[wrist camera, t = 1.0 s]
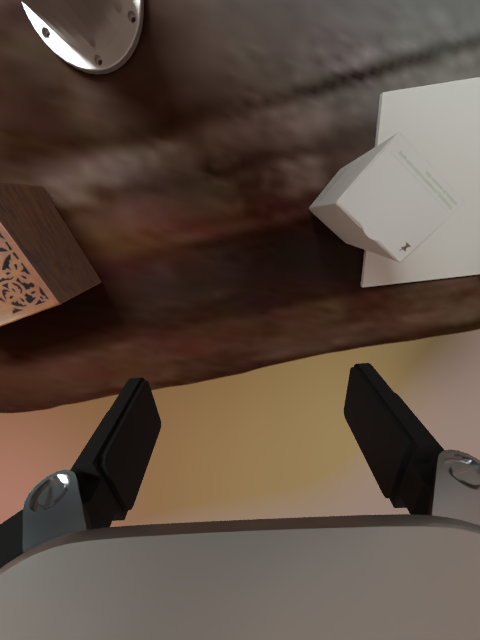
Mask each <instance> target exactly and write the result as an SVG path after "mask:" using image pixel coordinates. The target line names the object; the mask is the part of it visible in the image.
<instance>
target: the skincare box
mask: <svg viewBox="0 0 480 640" xmlns="http://www.w3.org/2000/svg"><path fill="white" fill-rule="evenodd" d="M464 203H465V202H464V200H463V199H462V198H461V197H460V196H459V195H458V194H457V193H456V192H455V191H454V190H453V189H452V188H451V187H450V185H449V184H448V183H447V182H446V181H445V180H444V179H443V178H442V177H441V175H440V174H439V173H438V172H437V171H436V170H435V169H434V168H433V167H432V166H431V165H430V163H429V162H428V161H427V160H426V159H425V158H424V157H423V156H422V155H421V154H420V152H419V151H418V150H417V149H416V148H415V147H414V146H413V145H412V144H411V143H410V142H409V141H408V140H407V139H406V138H405V137H404V135H403V134H402V133H401V132H398V133H397V134H395V135H393V136H392V137H390V138H389V139H387V140H386V141H384V142H383V143H381V144H379V145H378V146H376V147H375V148H373V149H371V150H370V151H368V152H367V153H365V154H364V155H362V156H360V157H359V158H357V159H356V160H354V161H352V162H351V163H349V164H348V165H346V166H345V167H343V168H341V169H340V170H339V171H338V172H337V174H336V175H335V176H334V177H333V178H332V180H331V181H330V182H329V183H328V185H327V186H326V187H325V188H324V190H323V191H322V192H321V193H320V194H319V196H318V197H317V198H316V199H315V201H314V202H313V203H312V204H311V206H310V207H309V210H310V211H311V212H312V213H313V214H314V215H315V216H316V217H317V218H318V219H320V220H321V221H322V222H323V223H324V224H325V225H326V226H327V227H328V228H329V229H330V230H332V231H333V232H334V233H335V234H336V235H337V236H338V237H339V238H340V239H342V240H343V241H344V242H345V243H346V244H350V245H353V246H356V247H359V248H361V249H364V250H367V251H370V252H373V253H375V254H378V255H381V256H384V257H387V258H389V259H392V260H395V261H397V262H400V263H401V262H402V261H403V260H404V259H405V258H406V257H407V256H409V255H410V254H411V253H412V252H413V251H414V250H415V249H416V248H417V247H418V246H419V245H420V244H421V243H422V242H423V241H424V240H425V239H427V238H428V237H429V236H430V235H431V234H432V233H433V232H434V231H435V230H436V229H437V228H438V227H439V226H440V225H441V224H442V223H444V222H445V221H446V220H447V219H448V218H449V217H450V216H451V215H452V214H453V213H454V212H456V211H457V210H458V209H459V208H460V207H461V206H462V205H463V204H464Z"/></svg>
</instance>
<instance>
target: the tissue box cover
mask: <svg viewBox="0 0 480 640" xmlns="http://www.w3.org/2000/svg"><path fill="white" fill-rule="evenodd" d="M100 283H101V280H100V279H99V277H98V275H97V274H96V272H95V270H94V269H93V267H92V266H91V264H90V262H89V261H88V259H87V258H86V256H85V254H84V253H83V251H82V250H81V248H80V246H79V245H78V243H77V242H76V240H75V238H74V237H73V235H72V234H71V232H70V230H69V229H68V227H67V225H66V224H65V222H64V221H63V219H62V217H61V216H60V214H59V213H58V211H57V209H56V208H55V206H54V205H53V203H52V201H51V200H50V198H49V197H48V195H47V193H46V192H45V190H44V188H43V187H41V186H32V185H23V184H13V183H4V182H0V327H1V326H3V325H6V324H9V323H11V322H14V321H17V320H19V319H22V318H25V317H27V316H30V315H33V314H36V313H38V312H41V311H44V310H46V309H49V308H52V307H54V306H57V305H60V304H62V303H64V302H66V301H68V300H69V299H71V298H73V297H75V296H77V295H79V294H81V293H83V292H84V291H86V290H88V289H90V288H92V287H94V286H96V285H98V284H100Z"/></svg>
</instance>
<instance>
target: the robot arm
mask: <svg viewBox="0 0 480 640" xmlns="http://www.w3.org/2000/svg"><path fill="white" fill-rule="evenodd" d="M21 2H22V5H23V7H24V9H25V12H26V14H27V16H28V18H29V20H30V21H31V23H32V25H33V27H34V29H35V30H36V32H37V33H38V34H39V36H40V37H41V38H42V40H43V41H44V42H45V44H46V45H47V46H48V47H49V48H50V49H51V50H52V51H53V52H54V53H55V54H56V55H58V56H59V57H60V58H61V59H62V60H64V61H65V62H66V63H68V64H69V65H71V66H72V67H74V68H76V69H78V70H80V71H83V72H85V73H90V74H96V75H99V74H108V73H110V72H113V71H115V70H117V69H119V68H120V67H121V66H123V65H124V64H125V63H126V62H127V61H128V59H129V58H130V57H131V56H132V54H133V52H134V50H135V48H136V46H137V44H138V42H139V38H140V35H141V32H142V25H143V18H144V0H21ZM134 20H135V22H134V23H133V21H134ZM101 62H102V64H101ZM344 415H345V418H346V420H347V423H348V425H349V426H350V428H351V431H352V433H353V434H354V437H355V439H356V441H357V443H358V445H359V447H360V449H361V451H362V453H363V455H364V457H365V459H366V461H367V463H368V465H369V467H370V469H371V471H372V473H373V475H374V477H375V479H376V481H377V483H378V485H379V487H380V489H381V491H382V493H383V495H384V496H385V497H386V498H389V499H390V501H391V503H392V504H393V506H394V508H407V509H408V511H409V513H410V514H411V515H408V514H405V515H404V514H402V515H356V516H330V517H303V518H281V519H280V518H279V519H256V520H234V521H211V522H191V523H171V524H150V525H137V526H122V527H110V525H111V522H112V521H114V520H124V519H125V517H126V514H127V512H128V510H131V509H132V507H133V505H134V502H135V500H136V496H137V494H138V491H139V488H140V485H141V483H142V480H143V477H144V474H145V471H146V468H147V466H148V463H149V460H150V457H151V454H152V451H153V448H154V446H155V443H156V440H157V437H158V434H159V432H160V428H161V420H160V417H159V414H158V411H157V407H156V405H155V401H154V398H153V395H152V392H151V389H150V386H149V383H148V381H145V380H144V378H131V379H129V380H128V381H127V383H126V385H125V386H124V388H123V389H122V391H121V392H120V394H119V396H118V397H117V399H116V400H115V402H114V404H113V405H112V407H111V408H110V410H109V411H108V412H107V413H106V415H105V416H104V418H103V419H102V421H101V423H100V424H99V426H98V427H97V429H96V431H95V432H94V434H93V435H92V437H91V438H90V440H89V442H88V443H87V445H86V446H85V448H84V449H83V451H82V452H81V454H80V456H79V457H78V459H77V460H76V462H75V464H74V465H73V467H72V468H71V470H61V471H57V472H55V473H53V474H51V475H49V476H47V477H46V478H45V479H43V480H42V481H41V482H39V483H38V484H37V485H36V486H35V487H34V488H33V490H32V491H31V492H30V493H29V495H28V496H27V498H26V500H25V502H24V507H23V510H21V511H20V512H18V513H17V514H15V515H14V516H12V517H11V518H9V519H8V520H6V521H5V522H3V523H2V524H0V640H480V460H478V459H477V458H475V457H473V456H471V455H469V454H467V453H464V452H460V451H456V450H444V449H443V448H442V447H441V446H440V445H439V443H438V442H437V441H436V440H435V439H434V437H433V436H432V435H431V434H430V433H429V431H428V430H427V429H426V428H425V427H424V425H423V424H422V423H421V422H420V421H419V420H418V418H417V417H416V416H415V415H414V414H413V412H412V411H411V410H410V409H409V407H408V406H407V405H406V404H405V403H404V401H403V400H402V399H401V398H400V397H399V396H398V395H397V394H396V393H394V392H393V391H392V390H391V388H390V387H389V386H388V385H387V383H386V382H385V381H384V380H383V378H382V377H381V376H380V375H379V374H378V372H377V371H376V370H375V369H374V368H373V366H372V365H371V364H369V363H362V364H355V365H354V367H352V368H351V369H350V375H349V381H348V387H347V394H346V400H345V406H344Z"/></svg>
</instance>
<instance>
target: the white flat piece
mask: <svg viewBox="0 0 480 640" xmlns="http://www.w3.org/2000/svg"><path fill="white" fill-rule="evenodd" d="M398 132H401V133H402V134H403V135H404V137H405V138H406V139H407V140H408V141H409V142H410V143H411V144H412V145H413V146H414V147H415V148H416V149H417V150H418V151H419V152H420V154H421V155H422V156H423V157H424V158H425V159H426V160H427V161H428V162H429V163H430V165H431V166H432V167H433V168H434V169H435V170H436V171H437V172H438V173H439V174H440V175H441V177H442V178H443V179H444V180H445V181H446V182H447V183H448V184H449V185H450V187H451V188H452V189H453V190H454V191H455V192H456V193H457V194H458V195H459V196H460V197H461V198H462V199H463V200H464V202H465V203H464V204H463V205H462V206H461V207H460V208H459V209H458V210H457V211H456V212H454V213H453V214H452V215H451V216H450V217H449V218H448V219H447V220H446V221H445V222H444V223H442V224H441V225H440V226H439V227H438V228H437V229H436V230H435V231H434V232H433V233H432V234H431V235H430V236H429V237H428V238H427V239H425V240H424V241H423V242H422V243H421V244H420V245H419V246H418V247H417V248H416V249H415V250H414V251H413V252H412V253H411V254H410V255H409V256H407V257H406V258H405V259H404V260H403V261H402V262H401V263H400V262H397V261H395V260H392V259H389V258H387V257H384V256H381V255H378V254H375V253H373V252H370V251H367V250H364V258H363V268H362V278H361V287H362V288H363V287H371V286H380V285H389V284H398V283H407V282H416V281H424V280H433V279H442V278H451V277H460V276H469V275H478V274H480V77H477V78H471V79H465V80H458V81H452V82H446V83H439V84H433V85H427V86H420V87H414V88H408V89H401V90H395V91H389V92H383V93H382V94H380V100H379V110H378V120H377V130H376V140H375V147H376V146H378V145H379V144H381V143H383V142H384V141H386V140H387V139H389V138H390V137H392V136H393V135H395V134H397V133H398Z"/></svg>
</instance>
